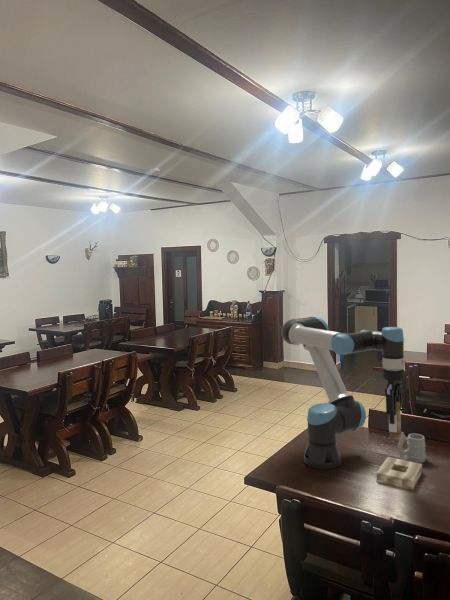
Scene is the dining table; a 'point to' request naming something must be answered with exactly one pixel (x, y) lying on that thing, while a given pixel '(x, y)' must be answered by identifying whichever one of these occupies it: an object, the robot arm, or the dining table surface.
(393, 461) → the wooden block with hole
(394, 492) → the dining table surface
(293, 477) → the dining table surface
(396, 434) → the leg
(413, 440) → the mug
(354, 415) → the robot arm
